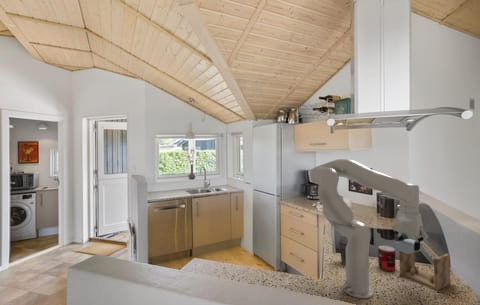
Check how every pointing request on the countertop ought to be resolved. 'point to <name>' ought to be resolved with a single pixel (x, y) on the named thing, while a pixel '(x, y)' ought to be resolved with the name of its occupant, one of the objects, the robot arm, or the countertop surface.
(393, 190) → the robot arm
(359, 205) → the countertop surface
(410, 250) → the light blue block
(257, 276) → the countertop surface
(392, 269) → the canned food
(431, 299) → the countertop surface
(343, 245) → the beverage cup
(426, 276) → the peg shelf
